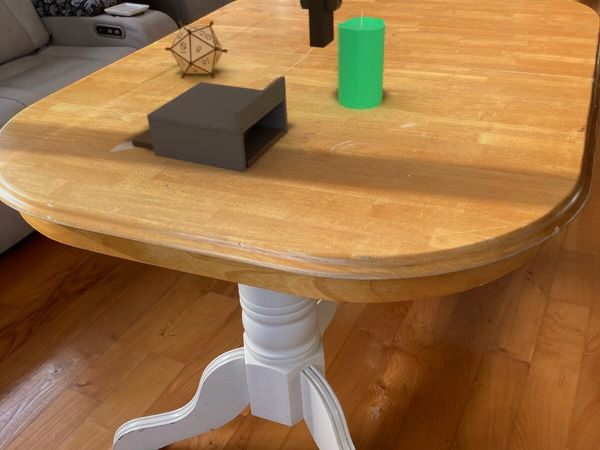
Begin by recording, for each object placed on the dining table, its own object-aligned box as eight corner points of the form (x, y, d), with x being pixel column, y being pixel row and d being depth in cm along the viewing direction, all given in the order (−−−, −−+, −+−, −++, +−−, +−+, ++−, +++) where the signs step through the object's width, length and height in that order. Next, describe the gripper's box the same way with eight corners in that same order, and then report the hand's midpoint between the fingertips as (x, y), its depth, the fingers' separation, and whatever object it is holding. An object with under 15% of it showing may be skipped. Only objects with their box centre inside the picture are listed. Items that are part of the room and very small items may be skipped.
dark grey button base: (132, 146, 71) (128, 127, 69) (175, 118, 77) (172, 100, 76) (249, 168, 65) (247, 148, 63) (284, 136, 71) (283, 116, 70)
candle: (371, 90, 83) (374, 2, 76) (389, 105, 78) (394, 13, 71) (331, 97, 81) (330, 8, 75) (347, 112, 77) (348, 19, 70)
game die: (213, 94, 94) (244, 39, 92) (198, 94, 86) (232, 33, 84) (166, 64, 94) (195, 8, 92) (146, 61, 86) (178, -1, 83)
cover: (154, 155, 68) (143, 98, 64) (205, 119, 77) (198, 66, 73) (244, 173, 64) (238, 112, 60) (288, 132, 72) (285, 76, 68)
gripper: (410, -267, 46) (396, 38, 59) (262, -250, 50) (279, 28, 63) (380, -280, 40) (372, 61, 53) (217, -259, 45) (246, 48, 58)
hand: (322, 43), depth 58 cm, fingers closed
